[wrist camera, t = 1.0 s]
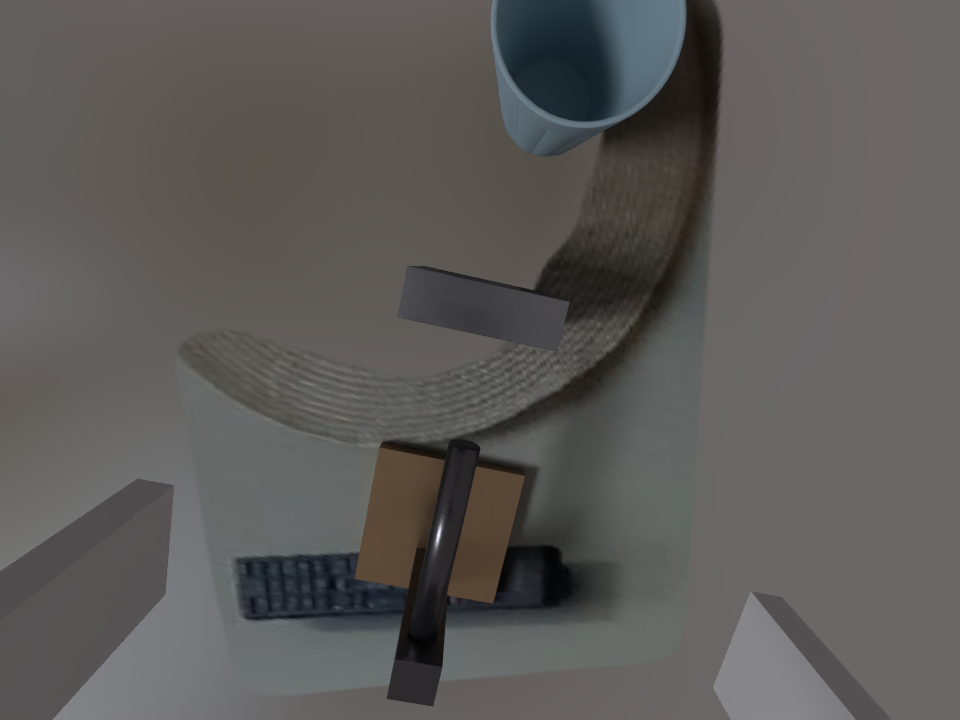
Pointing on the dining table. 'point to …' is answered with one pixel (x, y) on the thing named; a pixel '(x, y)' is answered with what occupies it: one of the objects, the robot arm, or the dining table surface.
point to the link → (482, 307)
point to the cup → (580, 65)
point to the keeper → (435, 546)
